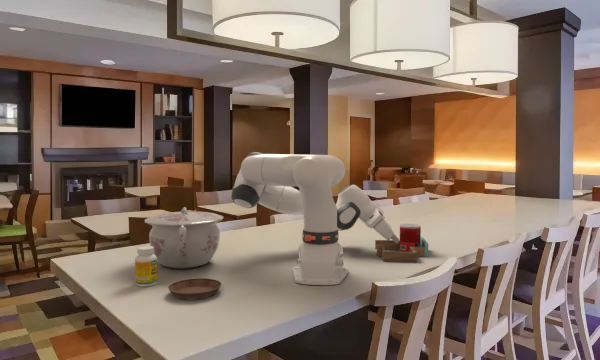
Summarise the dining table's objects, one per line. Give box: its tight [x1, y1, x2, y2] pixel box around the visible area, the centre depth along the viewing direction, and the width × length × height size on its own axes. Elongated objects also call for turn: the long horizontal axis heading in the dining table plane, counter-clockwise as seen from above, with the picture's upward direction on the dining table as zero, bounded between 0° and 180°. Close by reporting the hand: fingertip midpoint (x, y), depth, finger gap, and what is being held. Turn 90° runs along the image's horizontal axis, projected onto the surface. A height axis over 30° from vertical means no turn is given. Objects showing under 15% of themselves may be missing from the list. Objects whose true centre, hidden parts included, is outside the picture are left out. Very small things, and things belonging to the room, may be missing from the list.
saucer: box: [168, 277, 222, 301], centre depth 127 cm, size 15×15×3 cm
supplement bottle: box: [134, 245, 158, 288], centre depth 136 cm, size 6×6×11 cm
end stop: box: [420, 236, 429, 258], centre depth 175 cm, size 13×1×5 cm, turn 173°
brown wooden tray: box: [374, 239, 426, 258], centre depth 176 cm, size 13×18×4 cm
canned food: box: [399, 223, 422, 252], centre depth 175 cm, size 8×8×11 cm
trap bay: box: [381, 247, 418, 263], centre depth 165 cm, size 9×12×4 cm
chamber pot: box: [144, 206, 225, 270], centre depth 159 cm, size 28×28×21 cm
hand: (397, 241), depth 176 cm, fingers closed, pressing on canned food
